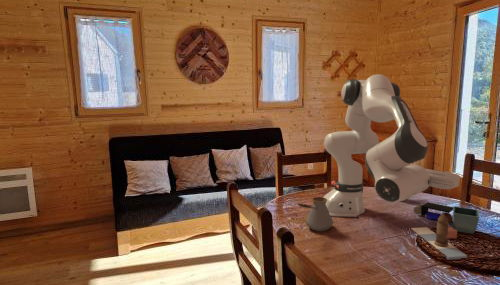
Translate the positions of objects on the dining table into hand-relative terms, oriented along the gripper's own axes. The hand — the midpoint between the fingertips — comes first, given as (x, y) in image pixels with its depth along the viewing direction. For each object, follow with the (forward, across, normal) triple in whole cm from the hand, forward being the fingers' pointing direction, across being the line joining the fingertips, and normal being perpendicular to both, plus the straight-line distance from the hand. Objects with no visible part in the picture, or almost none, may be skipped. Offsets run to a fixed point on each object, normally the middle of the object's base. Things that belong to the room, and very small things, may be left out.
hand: (432, 171), depth 112 cm
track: (+14, +2, +32) cm, 34 cm away
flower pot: (+32, -1, +32) cm, 45 cm away
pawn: (+12, 0, +30) cm, 33 cm away
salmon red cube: (+22, +1, +32) cm, 38 cm away
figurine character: (+36, +13, +32) cm, 49 cm away
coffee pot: (-13, +41, +32) cm, 53 cm away
